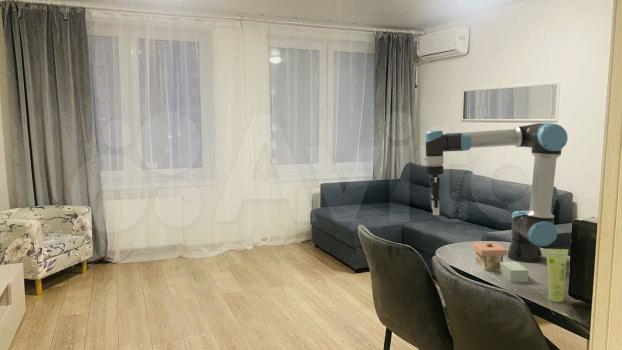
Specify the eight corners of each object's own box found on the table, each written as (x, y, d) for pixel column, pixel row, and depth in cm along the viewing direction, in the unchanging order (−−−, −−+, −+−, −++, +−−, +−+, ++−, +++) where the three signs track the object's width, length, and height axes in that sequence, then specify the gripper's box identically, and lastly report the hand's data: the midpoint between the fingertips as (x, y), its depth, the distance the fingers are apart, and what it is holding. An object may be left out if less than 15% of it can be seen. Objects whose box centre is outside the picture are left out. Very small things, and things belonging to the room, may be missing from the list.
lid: (496, 247, 214) (496, 240, 214) (506, 255, 201) (507, 247, 201) (472, 248, 215) (472, 240, 214) (481, 256, 202) (481, 248, 202)
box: (493, 262, 215) (493, 247, 214) (502, 270, 203) (503, 255, 202) (476, 262, 215) (476, 248, 214) (484, 270, 203) (484, 255, 202)
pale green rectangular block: (515, 272, 200) (516, 261, 199) (527, 282, 188) (527, 270, 187) (499, 272, 200) (499, 261, 199) (510, 282, 188) (510, 270, 187)
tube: (556, 304, 165) (557, 251, 163) (544, 299, 170) (545, 248, 167) (567, 301, 167) (568, 249, 165) (554, 296, 172) (556, 246, 170)
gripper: (425, 162, 216) (426, 206, 219) (426, 168, 192) (427, 217, 195) (441, 162, 215) (442, 206, 217) (445, 168, 191) (445, 217, 193)
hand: (435, 212), depth 206 cm, fingers open, 13 cm apart
